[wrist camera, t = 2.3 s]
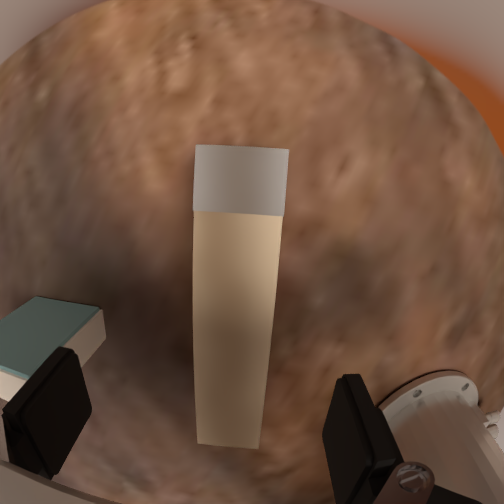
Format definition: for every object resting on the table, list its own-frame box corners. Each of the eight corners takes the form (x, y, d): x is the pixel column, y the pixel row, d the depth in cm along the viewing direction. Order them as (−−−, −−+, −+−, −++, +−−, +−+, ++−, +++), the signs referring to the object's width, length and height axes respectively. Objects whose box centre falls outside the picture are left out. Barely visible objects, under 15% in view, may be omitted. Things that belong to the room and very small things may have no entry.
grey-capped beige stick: (280, 155, 20) (288, 149, 14) (260, 394, 24) (259, 449, 18) (215, 151, 20) (195, 144, 14) (209, 389, 24) (196, 443, 18)
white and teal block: (102, 306, 23) (29, 378, 13) (106, 337, 23) (43, 415, 14) (35, 295, 23) (-42, 348, 13) (41, 324, 23) (-28, 383, 14)
